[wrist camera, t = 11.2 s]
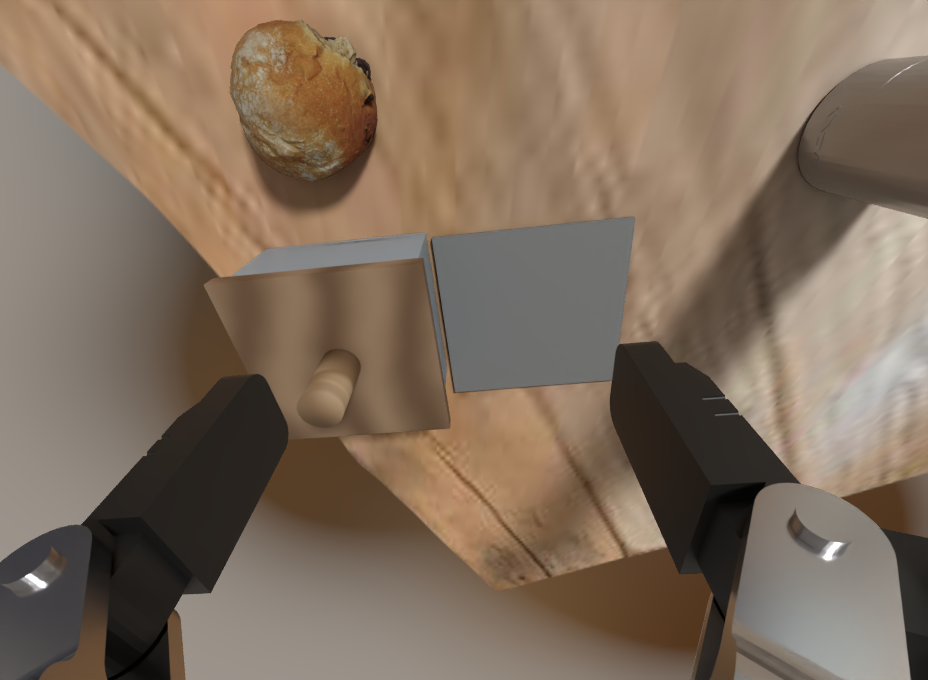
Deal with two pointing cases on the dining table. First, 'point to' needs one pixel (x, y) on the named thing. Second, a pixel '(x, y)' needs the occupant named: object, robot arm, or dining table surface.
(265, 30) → the bread roll
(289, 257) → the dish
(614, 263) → the mat
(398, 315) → the lid
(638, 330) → the dining table surface
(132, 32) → the dining table surface
